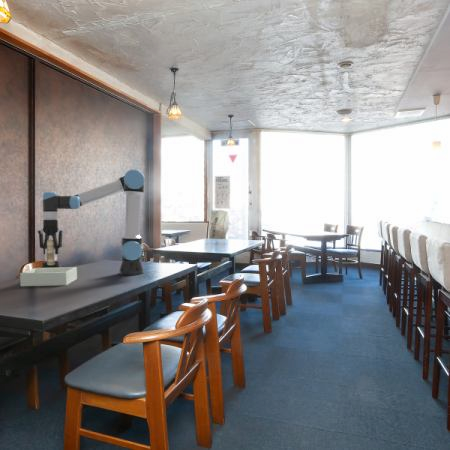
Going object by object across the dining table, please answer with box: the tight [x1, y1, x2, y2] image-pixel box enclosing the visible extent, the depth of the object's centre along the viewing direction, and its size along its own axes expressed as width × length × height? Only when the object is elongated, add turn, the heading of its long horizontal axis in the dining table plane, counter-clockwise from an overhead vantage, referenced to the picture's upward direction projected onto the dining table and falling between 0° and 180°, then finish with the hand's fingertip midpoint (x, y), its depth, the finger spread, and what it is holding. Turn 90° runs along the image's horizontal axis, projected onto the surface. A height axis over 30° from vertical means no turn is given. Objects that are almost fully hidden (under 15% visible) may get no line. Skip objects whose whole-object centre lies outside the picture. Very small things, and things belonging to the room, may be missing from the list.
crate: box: [19, 266, 78, 287], centre depth 209 cm, size 24×18×7 cm
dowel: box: [46, 239, 56, 265], centre depth 212 cm, size 4×4×14 cm
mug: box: [41, 260, 61, 268], centre depth 226 cm, size 9×12×9 cm
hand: (51, 260), depth 212 cm, fingers closed on dowel, 4 cm apart
